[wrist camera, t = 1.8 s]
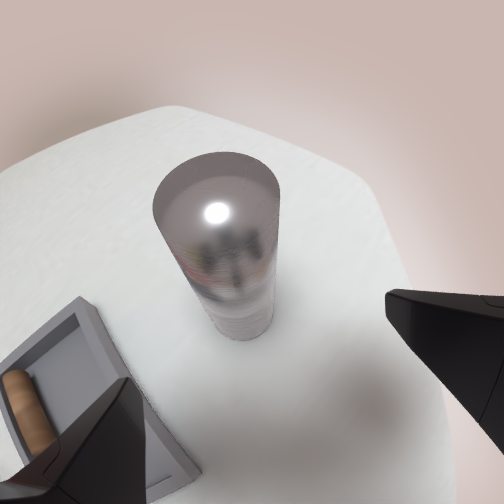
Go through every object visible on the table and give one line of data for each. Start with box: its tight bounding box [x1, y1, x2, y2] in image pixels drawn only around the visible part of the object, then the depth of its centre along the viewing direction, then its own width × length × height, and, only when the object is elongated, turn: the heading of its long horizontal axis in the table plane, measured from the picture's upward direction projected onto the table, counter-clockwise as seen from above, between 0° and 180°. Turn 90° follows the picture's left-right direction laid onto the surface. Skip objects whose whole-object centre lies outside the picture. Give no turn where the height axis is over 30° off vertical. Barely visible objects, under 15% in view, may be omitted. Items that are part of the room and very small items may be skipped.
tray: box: [0, 296, 202, 504], centre depth 15 cm, size 16×14×3 cm
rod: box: [2, 370, 56, 456], centre depth 15 cm, size 7×3×3 cm, turn 39°
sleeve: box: [153, 152, 280, 341], centre depth 16 cm, size 5×5×13 cm
